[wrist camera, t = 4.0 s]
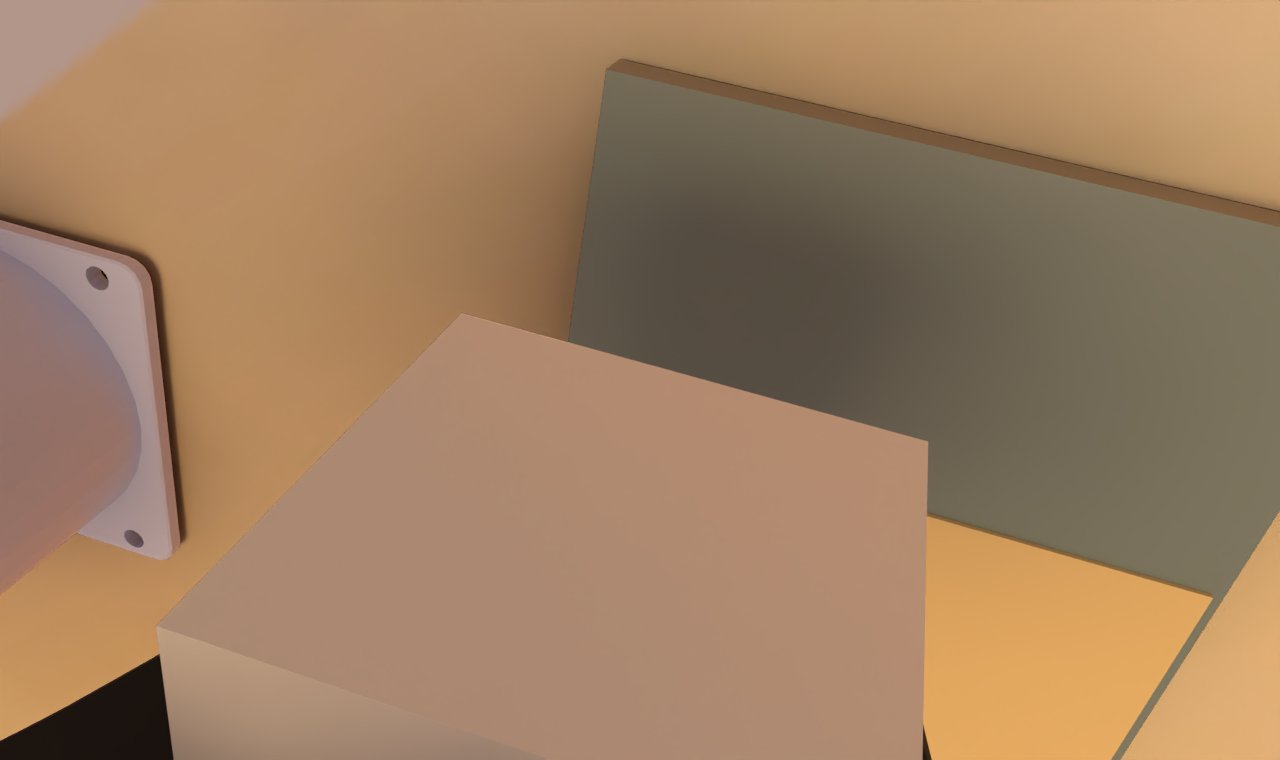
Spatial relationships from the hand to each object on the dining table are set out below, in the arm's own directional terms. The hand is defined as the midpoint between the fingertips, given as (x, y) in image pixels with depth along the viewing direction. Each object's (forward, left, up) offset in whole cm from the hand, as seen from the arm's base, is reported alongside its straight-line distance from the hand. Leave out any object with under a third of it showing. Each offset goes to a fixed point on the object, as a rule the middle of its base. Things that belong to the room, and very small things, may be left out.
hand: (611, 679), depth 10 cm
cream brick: (0, 0, -1) cm, 1 cm away
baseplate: (+3, -6, -9) cm, 11 cm away
